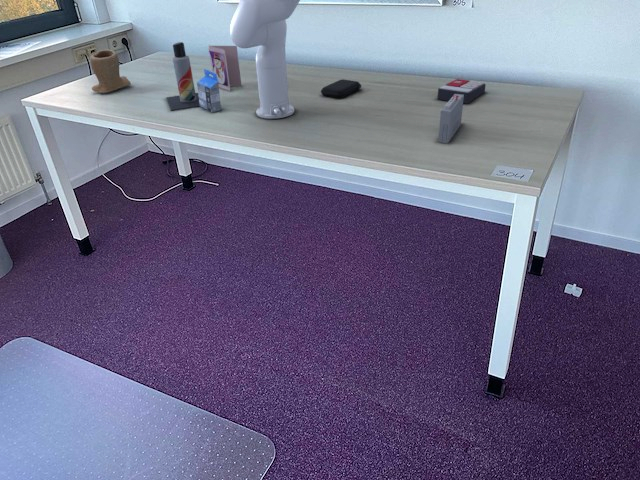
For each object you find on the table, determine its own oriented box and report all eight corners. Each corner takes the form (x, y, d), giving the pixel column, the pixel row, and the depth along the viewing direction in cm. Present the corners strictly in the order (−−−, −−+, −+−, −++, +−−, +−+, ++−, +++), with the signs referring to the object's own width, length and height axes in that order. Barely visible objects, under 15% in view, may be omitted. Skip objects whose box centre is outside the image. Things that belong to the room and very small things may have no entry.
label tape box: (199, 106, 182) (193, 70, 175) (209, 103, 184) (204, 68, 177) (212, 112, 176) (206, 76, 169) (222, 109, 178) (217, 73, 171)
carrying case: (343, 100, 181) (365, 89, 191) (343, 91, 179) (365, 81, 189) (318, 96, 186) (341, 85, 196) (318, 87, 185) (341, 77, 195)
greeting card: (212, 86, 204) (206, 46, 196) (228, 81, 208) (223, 42, 200) (228, 91, 197) (222, 50, 189) (244, 87, 201) (239, 46, 193)
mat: (211, 105, 184) (211, 103, 183) (171, 111, 180) (171, 109, 180) (204, 93, 196) (204, 91, 196) (166, 98, 193) (166, 97, 192)
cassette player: (451, 123, 157) (454, 90, 152) (460, 124, 156) (464, 91, 151) (438, 142, 146) (441, 106, 140) (447, 143, 145) (451, 107, 139)
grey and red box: (486, 81, 180) (469, 90, 169) (484, 94, 182) (467, 104, 171) (456, 77, 185) (438, 86, 175) (455, 89, 188) (436, 99, 177)
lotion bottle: (192, 103, 185) (182, 44, 174) (177, 102, 186) (166, 44, 175) (198, 98, 190) (189, 40, 179) (184, 97, 191) (173, 40, 180)
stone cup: (105, 97, 197) (94, 56, 189) (88, 92, 204) (77, 52, 196) (139, 87, 207) (130, 48, 199) (122, 83, 214) (113, 44, 206)
